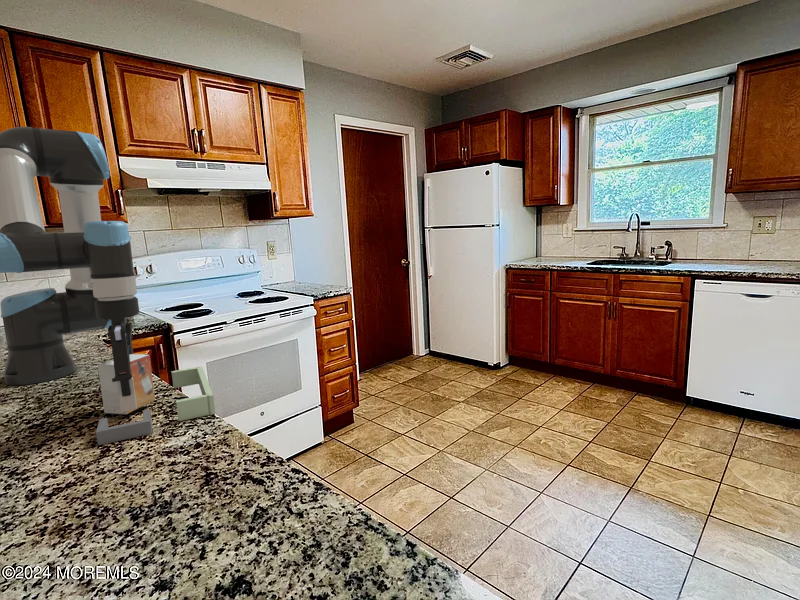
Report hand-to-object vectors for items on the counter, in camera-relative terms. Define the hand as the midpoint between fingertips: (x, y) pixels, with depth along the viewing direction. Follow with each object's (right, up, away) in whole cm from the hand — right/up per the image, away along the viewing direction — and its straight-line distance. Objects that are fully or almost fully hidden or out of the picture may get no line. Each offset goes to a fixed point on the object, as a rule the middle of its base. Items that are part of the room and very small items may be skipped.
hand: (130, 401), depth 92 cm
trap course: (+5, -2, +3) cm, 6 cm away
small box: (0, -1, 0) cm, 1 cm away
